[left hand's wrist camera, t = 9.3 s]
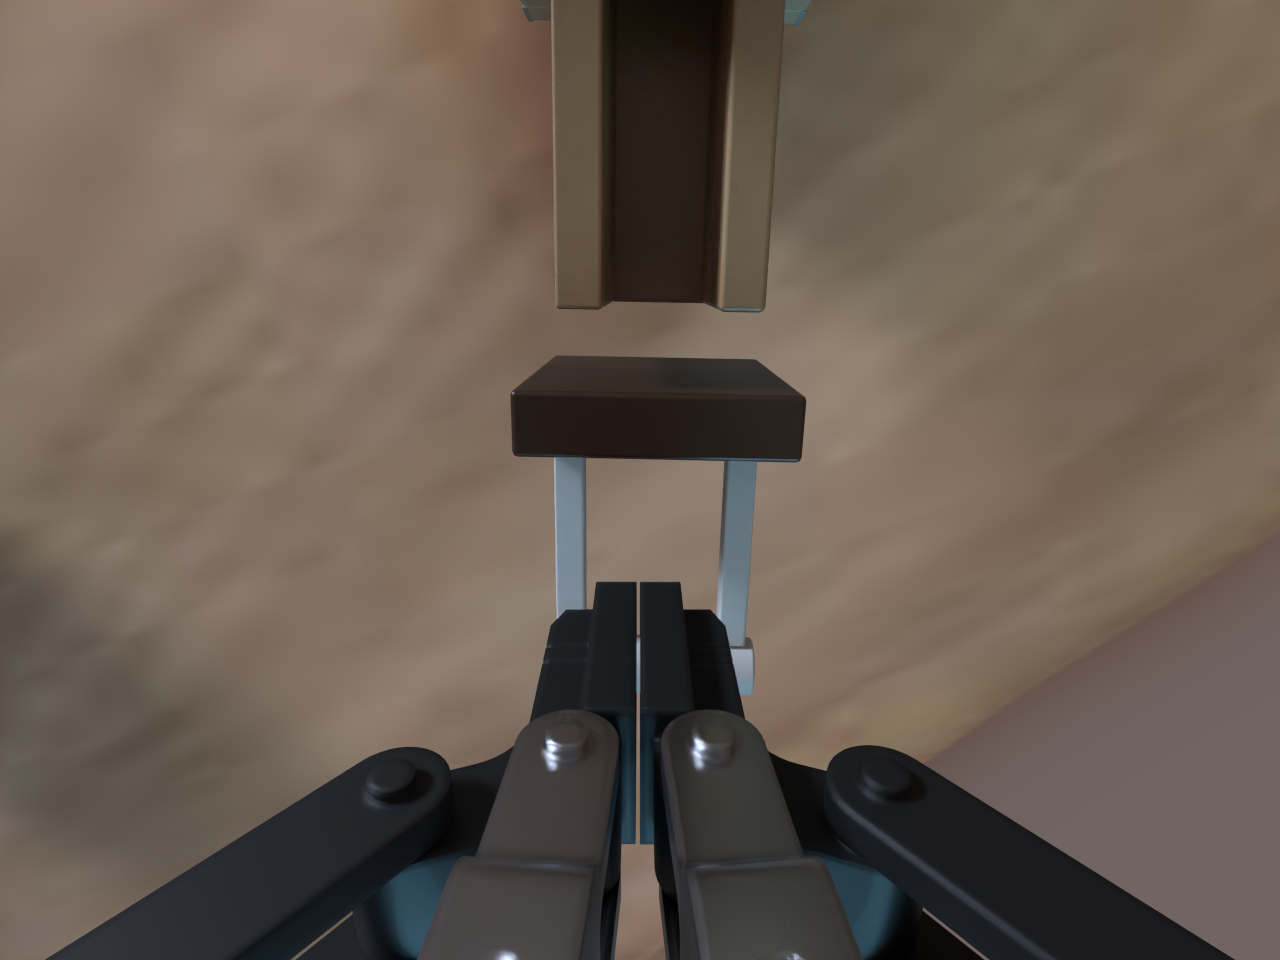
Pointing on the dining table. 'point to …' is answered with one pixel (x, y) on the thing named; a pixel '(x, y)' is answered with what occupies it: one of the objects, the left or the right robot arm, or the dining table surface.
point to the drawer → (662, 260)
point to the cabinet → (539, 8)
